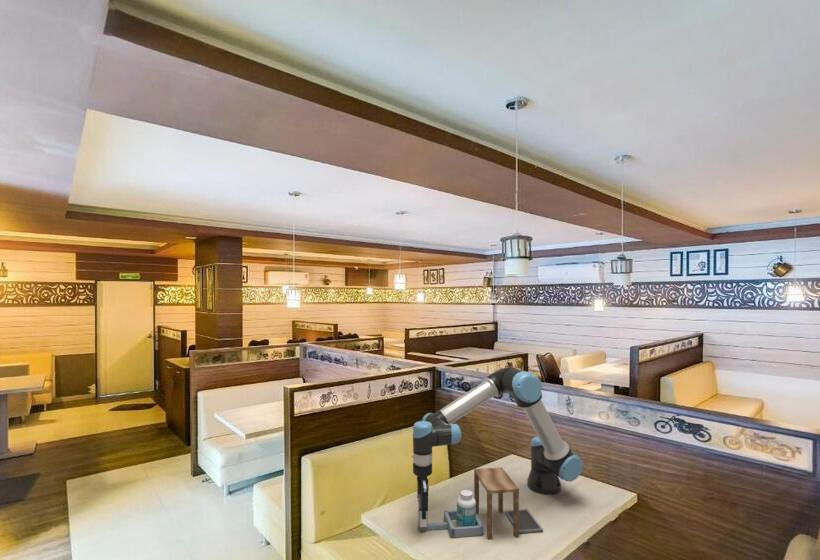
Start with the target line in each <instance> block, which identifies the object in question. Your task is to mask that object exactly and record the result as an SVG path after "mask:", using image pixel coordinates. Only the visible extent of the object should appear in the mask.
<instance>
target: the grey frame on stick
mask: <svg viewBox="0 0 820 560" xmlns="http://www.w3.org/2000/svg"><path fill="white" fill-rule="evenodd" d="M417 502H418V504H417V511H418V512H417V518H418V519H417V521H418V525H417V528H418V529H417V530H418V531H419V532H420V533H421V532H422V533H425V532H427V531H432V530H433V531H434V530H446V529H447V530H448V532H449V535H450V537H451V539H452V538H453V539H454V538H463V537H464V538H465V537H476V536H477V537H478V536H484V526H483V524H482V522H481V520H480V518H479V516H478V515H477V514H476V526H467V527H458V526H456V527H455V526H454V525H453V522H452V520H457V509H448V510H443V518H444V522H431V523H429V522H428V521H429V520H428V519H429V518H428V517H429V516H428V511H429V510H428V511H427V527H420V511H419V509H420V508H421V507H420V494H419V495H418V498H417Z"/></svg>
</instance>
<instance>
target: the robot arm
mask: <svg viewBox="0 0 820 560" xmlns="http://www.w3.org/2000/svg"><path fill="white" fill-rule="evenodd" d="M542 390H543V385H542V382H541V380H540V379H539V377H537V375H535V374H533V373H532V372H530V371H525V370H523V369H520V368H516V367H513V366H507V367H503V368H500V369H498V370H496V371H493V372H492V373H490V374H489V375H487V376H486V377H484V379H483V381H482V382H481V383H479V384H478V385H476V386H475V387H473V388H472V389H470V390H468V391H467V392H466V393H463V394H462V395H461V396H459V397H457V398H456V399H455V400H453V401H451V402H450V403H449V404H446V405H445V406H444V407H442V408H441V409H440V410H438V411H436V412H435V413H434V412H433V413H432V412H428V413H426V414H425V415H424V416H423V417H422V419H421V420H419V421H416V422H415V423H413V425H412V426H413V427H412V428H413V429H412V454H411V458H412V460H413V461H412V462H413V463H412V473H413V475H414V476H416V481H417V482H416V483H417V484H416V485H417V487H416V488H417V493H416V494H417V495H416V496H417V497H416V498H417V499H418V495H419V494H420V507H421V508H420V509H419V511H420V527H427V511H429V489H430V487H429V479H428V477H429V476H431V475H432V473H433V447H440V446H441V447H442V446H449V445H455V444H459V443H460V442H461V440H462V431H461V428H460V426H459V424H457V423H456V422H457V421H458V420H460V419H461V418H464V417H465V416H466V415H468V414H469V413H471V412H472V411H473V410H475V409H477V408H478V407H480V406H481V405H483V404H484V403H485V402H487V401H488V400H491V398H493V397H498V396H500V395H502V394H507V395H510V396H511V397H512V398H513V400H514V402H515V404H516V406H517V407H518V408H520V409H523V411H524V413H525V415H526V417H527V419H528V420H529V422H530V424H531V426H532V427H533V429H534V432H535V434H536V435H537V436H535V437H532V439H531V440H530V470H529V474H528V477H527V479H526V480H527V484H526V485H527V487H528V489H529V490H530V491H533V492H535V493H537V494H542V495H556V494H559V493H560V492H561V490H562V484H561V481H560V479H561V480H564V481H565V482H574V481H576V480H577V479H578V478H579V476H581V473H582V470H583V467H584V466H583V461H582V459H581V458H580V457H579V456H578V455H577V454H575V453H574V452H573V450H572V449H571V447H570V445H569V444H568V443H567V442H566V441H564V440H563V439H562V437H561V436H560V434H559V432H558V429H557V428H556V425H555V424H554V422H553V420H552V418H551V416H550V414H549V412H548V411H547V408H546V406H545V404H544V403H543V401H542V399H543V391H542Z"/></svg>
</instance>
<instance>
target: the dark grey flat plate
mask: <svg viewBox="0 0 820 560" xmlns="http://www.w3.org/2000/svg"><path fill="white" fill-rule="evenodd" d="M504 515H505V516H506V517H507V520H508V521H509V522H510V524H511V525H512V526H513V509H510V510H509V509H508V510H504ZM536 533H537V534H538V533H544V529H543V528H542V527H541V525H540V523H539V522H538V521H537V520H536V518H535V517H534V516H533V515H532V513H531V512H530V510H529V509H528V508H524V509H521V508H520V509H519V535H523V534H524V535H525V534H536Z"/></svg>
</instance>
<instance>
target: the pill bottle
mask: <svg viewBox="0 0 820 560" xmlns="http://www.w3.org/2000/svg"><path fill="white" fill-rule="evenodd" d="M456 510H457V519H456V527H467V526H476V501H475V499H474V497H473V492H472V491H471V490H469V489H463V490H461V491H460V495H459V497H458V498H457V499H456Z"/></svg>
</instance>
